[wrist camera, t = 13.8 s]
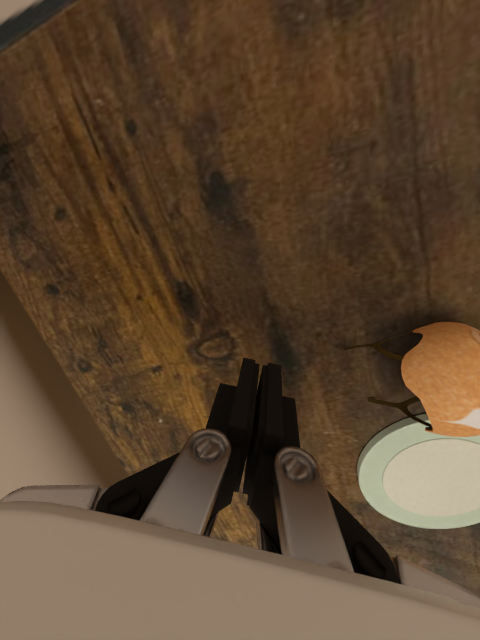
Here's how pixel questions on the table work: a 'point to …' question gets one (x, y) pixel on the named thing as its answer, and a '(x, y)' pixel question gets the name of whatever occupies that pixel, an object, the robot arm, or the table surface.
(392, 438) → the plate
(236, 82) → the table surface
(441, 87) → the table surface
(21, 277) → the table surface
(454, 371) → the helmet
